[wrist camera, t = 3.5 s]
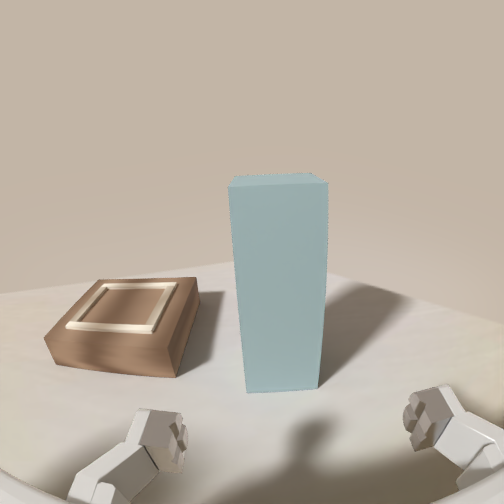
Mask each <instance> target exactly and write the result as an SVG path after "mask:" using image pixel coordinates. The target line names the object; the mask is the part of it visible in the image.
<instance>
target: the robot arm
mask: <svg viewBox="0 0 504 504" xmlns="http://www.w3.org/2000/svg"><path fill="white" fill-rule="evenodd" d="M409 402H410V404H409V405H407V406H406V407H405V410H404V412H403V423H404V427H405V429H406V430H407V431H408V432H410V433H411V436H410V441H411V444H412V446H413V449H414V451H415V452H416V451H419V450H423V449H426V448H429V447H432V446H434V448H435V449H437V450H438V451H439V452H440V453H442V454H443V455H444V456H446V457H447V458H448V459H449V460H451V461H452V462H453V463H455V464H456V465H457V466H459V467H460V468H461V469H463V470H464V472H463V473H462V474H461V475H460V476H459V477H458V478H457V480H456V484H457V487H458V489H459V491H458V492H456V493H454V494H451V495H449V496H447V497H444V498H442V499H440V500H437V501H435V502H432V503H430V504H504V429H502V428H500V427H498V426H496V425H494V424H492V423H490V422H488V421H486V420H484V419H483V418H481V417H479V416H477V415H475V414H473V413H471V412H469V411H468V412H465V410H464V409H463V407H462V405H461V404H460V402H459V400H458V399H457V397H456V396H455V394H454V392H453V391H452V389H451V388H450V386H449V385H447V384H444V385H441V386H437V387H432V388H429V389H425V390H422V391H418V392H414V393H412V394H411V395H410V397H409ZM182 420H183V418H182V415H181V413H176V412H166V411H157V410H149V409H140V408H139V409H138V411H137V412H136V414H135V417H134V419H133V422H132V424H131V427H130V430H129V432H128V435H127V438H126V441H125V442H120V443H119V444H118V445H116V446H115V447H114V448H112V449H111V450H109V451H108V452H107V453H105V454H104V455H102V456H101V457H100V458H98V459H97V460H95V461H94V462H92V463H91V464H90V465H88V466H87V467H85V468H84V469H82V470H81V471H79V472H78V473H77V474H76V476H75V479H74V481H73V484H72V486H71V488H70V491H69V493H68V496H67V498H66V501H65V500H63V499H60V498H58V497H56V496H53V495H51V494H49V493H47V492H44V491H42V490H40V489H38V488H36V487H34V486H32V485H30V484H28V483H26V482H24V481H22V480H20V479H18V478H16V477H15V476H13V475H11V474H9V473H8V472H6V471H4V470H2V469H0V504H131V503H130V501H131V500H132V499H133V498H134V497H135V496H136V495H137V494H138V493H139V492H140V491H141V490H142V489H143V488H144V487H145V486H146V485H147V484H148V483H149V482H150V481H151V480H152V479H153V478H154V477H155V476H156V475H157V474H158V473H159V471H163V472H172V473H182V470H183V465H184V460H185V458H184V456H183V454H182V453H183V452H184V451H185V450H186V449H187V444H188V433H187V429H186V426H185V425H184V424H182Z"/></svg>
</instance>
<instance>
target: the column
mask: <svg viewBox="0 0 504 504" xmlns="http://www.w3.org/2000/svg"><path fill="white" fill-rule="evenodd" d="M228 192H229V206H230V219H231V231H232V243H233V255H234V267H235V278H236V289H237V300H238V311H239V322H240V332H241V342H242V352H243V362H244V372H245V381H246V391H247V393H262V392H282V391H297V390H309V389H317V388H318V379H319V370H320V360H321V350H322V338H323V326H324V312H325V296H326V277H327V248H328V183H327V182H325V181H324V180H322V179H320V178H318V177H317V176H315V175H313V174H312V173H296V174H269V175H250V176H235V177H234V179H233V180H232V182H231V184H230V185H229V186H228Z"/></svg>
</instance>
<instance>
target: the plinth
mask: <svg viewBox="0 0 504 504" xmlns="http://www.w3.org/2000/svg"><path fill="white" fill-rule="evenodd" d="M199 303H200V299H199V293H198V286H197V279H196V277H183V278H151V279H109V280H98V281H97V282H96V283H95V284H94V285H93V286H92V287H91V288H90V289H89V290H88V291H87V292H86V293H85V294H84V295H83V296H82V297H81V298H80V299H79V300H78V301H77V302H76V303H75V304H74V305H73V306H72V307H71V308H70V310H69V311H68V312H67V313H66V314H65V315H64V316H63V317H62V318H61V319H60V320H59V321H58V322H57V324H56V325H55V326H54V327H53V328H52V329H51V330H50V331H49V332H48V333H47V335H46V336H45V337H44V340H45V342H46V344H47V346H48V349H49V351H50V353H51V355H52V357H53V359H54V361H55V363H56V364H57V365H63V366H68V367H75V368H81V369H88V370H95V371H103V372H111V373H120V374H130V375H141V376H154V377H171V378H176V375H177V372H178V369H179V365H180V362H181V359H182V356H183V353H184V349H185V346H186V343H187V340H188V337H189V334H190V331H191V328H192V324H193V321H194V318H195V315H196V312H197V309H198V306H199Z"/></svg>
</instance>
